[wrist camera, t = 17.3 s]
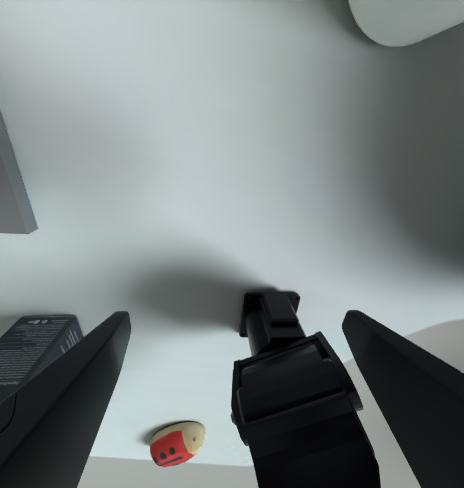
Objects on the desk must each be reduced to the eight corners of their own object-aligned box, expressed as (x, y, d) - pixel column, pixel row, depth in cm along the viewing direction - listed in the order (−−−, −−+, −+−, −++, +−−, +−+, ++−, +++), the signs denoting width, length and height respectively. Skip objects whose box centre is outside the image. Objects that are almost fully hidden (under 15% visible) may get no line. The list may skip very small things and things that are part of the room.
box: (21, 315, 23) (-107, 436, 14) (77, 314, 24) (-8, 429, 15) (44, 364, 27) (-46, 487, 17) (93, 361, 27) (32, 480, 18)
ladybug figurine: (213, 429, 37) (214, 456, 34) (167, 449, 39) (163, 477, 36) (190, 412, 35) (188, 440, 31) (140, 435, 36) (134, 464, 33)
